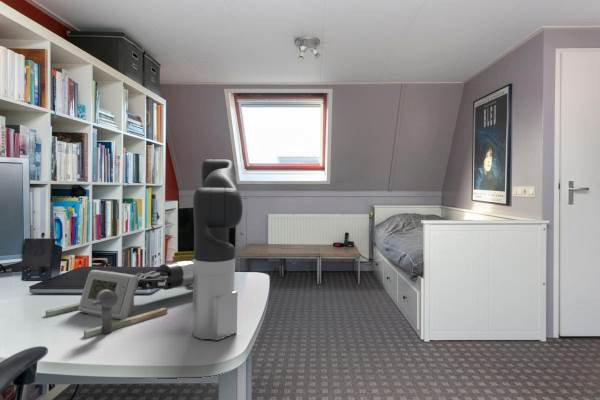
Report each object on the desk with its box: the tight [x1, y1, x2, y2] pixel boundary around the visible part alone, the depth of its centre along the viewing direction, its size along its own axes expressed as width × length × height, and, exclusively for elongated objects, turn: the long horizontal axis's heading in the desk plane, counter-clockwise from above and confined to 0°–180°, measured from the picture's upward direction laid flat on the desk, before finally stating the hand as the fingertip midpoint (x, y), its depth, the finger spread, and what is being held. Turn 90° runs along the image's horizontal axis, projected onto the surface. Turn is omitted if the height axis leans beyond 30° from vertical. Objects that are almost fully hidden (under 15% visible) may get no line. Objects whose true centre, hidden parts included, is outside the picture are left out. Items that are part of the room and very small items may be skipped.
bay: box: [45, 289, 169, 339], centre depth 93 cm, size 24×20×10 cm
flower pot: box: [172, 251, 194, 263], centre depth 133 cm, size 9×9×9 cm
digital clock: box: [78, 269, 138, 320], centre depth 95 cm, size 16×9×11 cm, turn 58°
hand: (121, 286), depth 97 cm, fingers closed
